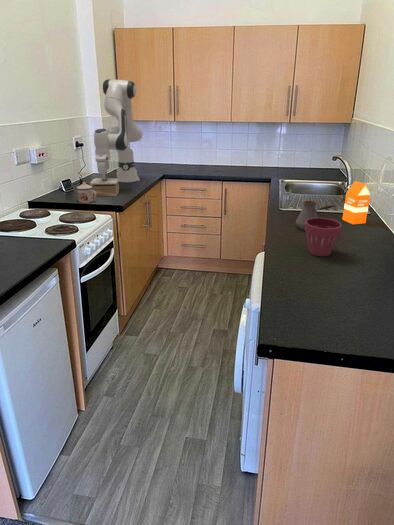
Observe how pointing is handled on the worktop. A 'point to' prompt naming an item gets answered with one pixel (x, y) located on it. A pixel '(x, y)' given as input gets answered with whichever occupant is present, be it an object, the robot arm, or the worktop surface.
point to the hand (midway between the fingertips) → (104, 178)
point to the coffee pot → (309, 213)
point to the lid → (106, 181)
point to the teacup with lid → (85, 193)
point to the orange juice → (356, 203)
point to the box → (105, 189)
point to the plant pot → (322, 235)
